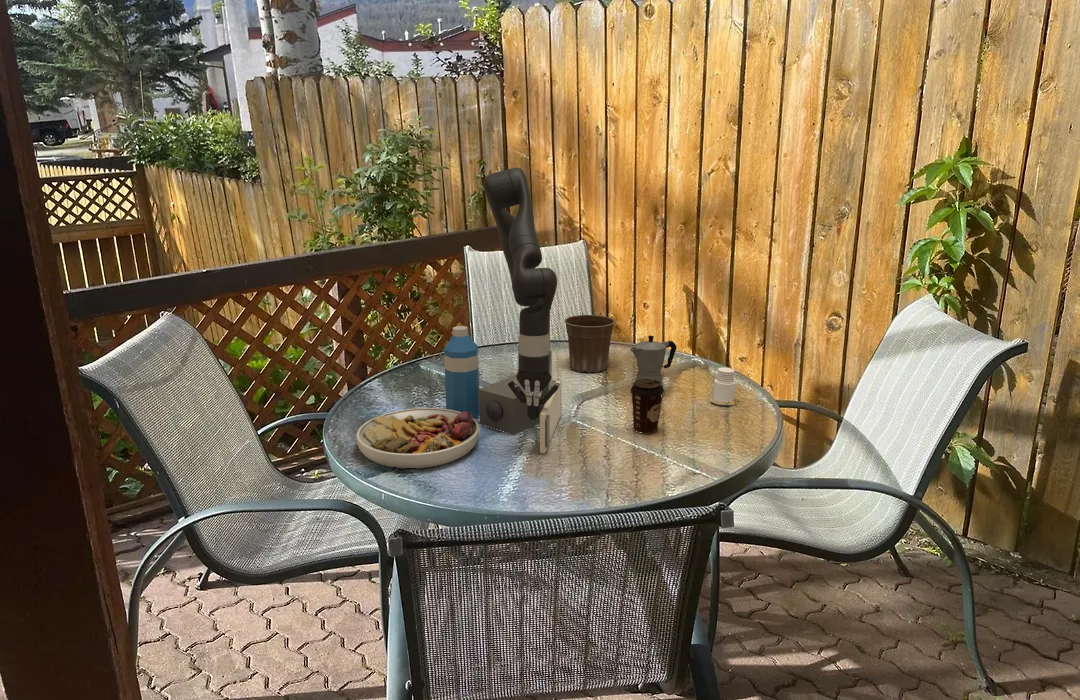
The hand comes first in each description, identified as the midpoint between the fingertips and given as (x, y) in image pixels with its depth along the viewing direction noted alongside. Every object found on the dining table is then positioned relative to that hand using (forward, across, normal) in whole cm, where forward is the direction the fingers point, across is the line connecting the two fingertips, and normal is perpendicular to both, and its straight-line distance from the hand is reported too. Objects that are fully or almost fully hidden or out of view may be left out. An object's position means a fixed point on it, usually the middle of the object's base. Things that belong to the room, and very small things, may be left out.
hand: (533, 418), depth 188 cm
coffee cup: (+7, -27, -17) cm, 32 cm away
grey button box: (+8, +8, -18) cm, 21 cm away
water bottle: (+8, +23, -18) cm, 30 cm away
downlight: (+7, -47, -41) cm, 63 cm away
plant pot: (+7, -5, -66) cm, 67 cm away
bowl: (+9, +28, +5) cm, 30 cm away
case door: (+7, -3, -10) cm, 12 cm away
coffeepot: (+7, -26, -45) cm, 53 cm away
